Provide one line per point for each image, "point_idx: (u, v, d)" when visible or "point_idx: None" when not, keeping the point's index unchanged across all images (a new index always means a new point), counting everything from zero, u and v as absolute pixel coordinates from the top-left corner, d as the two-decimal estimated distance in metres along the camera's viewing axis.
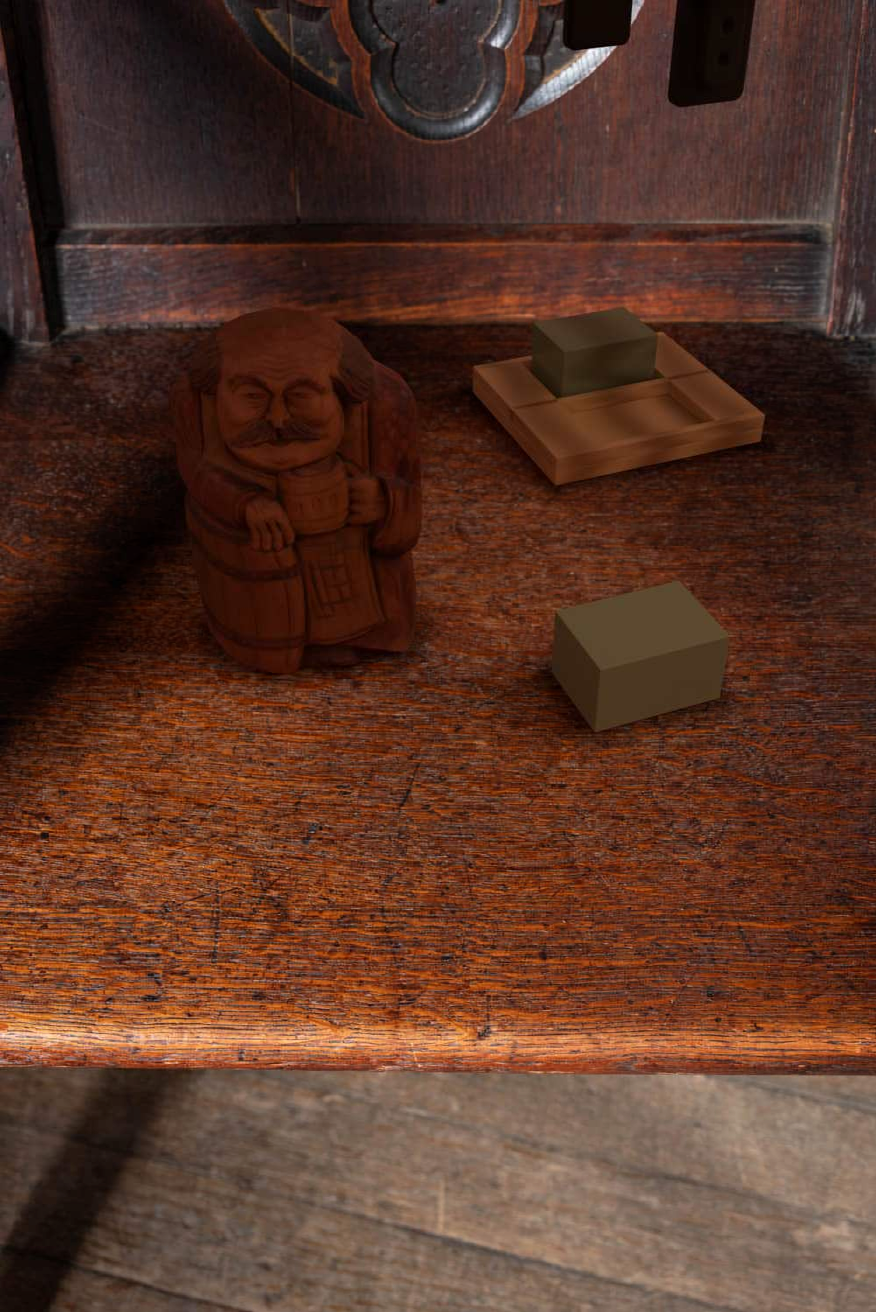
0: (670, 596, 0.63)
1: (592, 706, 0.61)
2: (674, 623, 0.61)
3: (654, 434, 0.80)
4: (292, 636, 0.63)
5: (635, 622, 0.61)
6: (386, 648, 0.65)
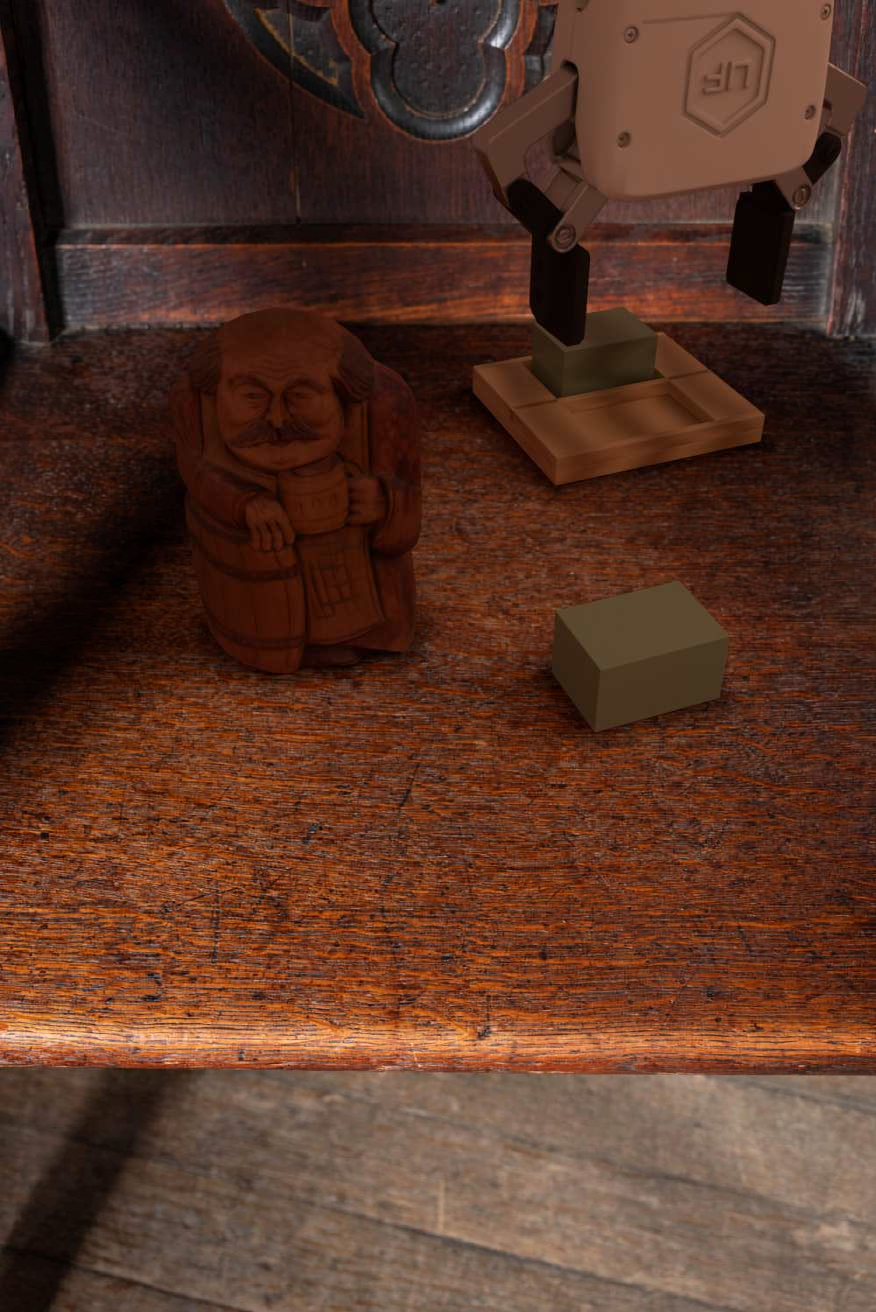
0: (670, 596, 0.63)
1: (592, 706, 0.61)
2: (674, 623, 0.61)
3: (654, 434, 0.80)
4: (292, 636, 0.63)
5: (635, 622, 0.61)
6: (386, 648, 0.65)
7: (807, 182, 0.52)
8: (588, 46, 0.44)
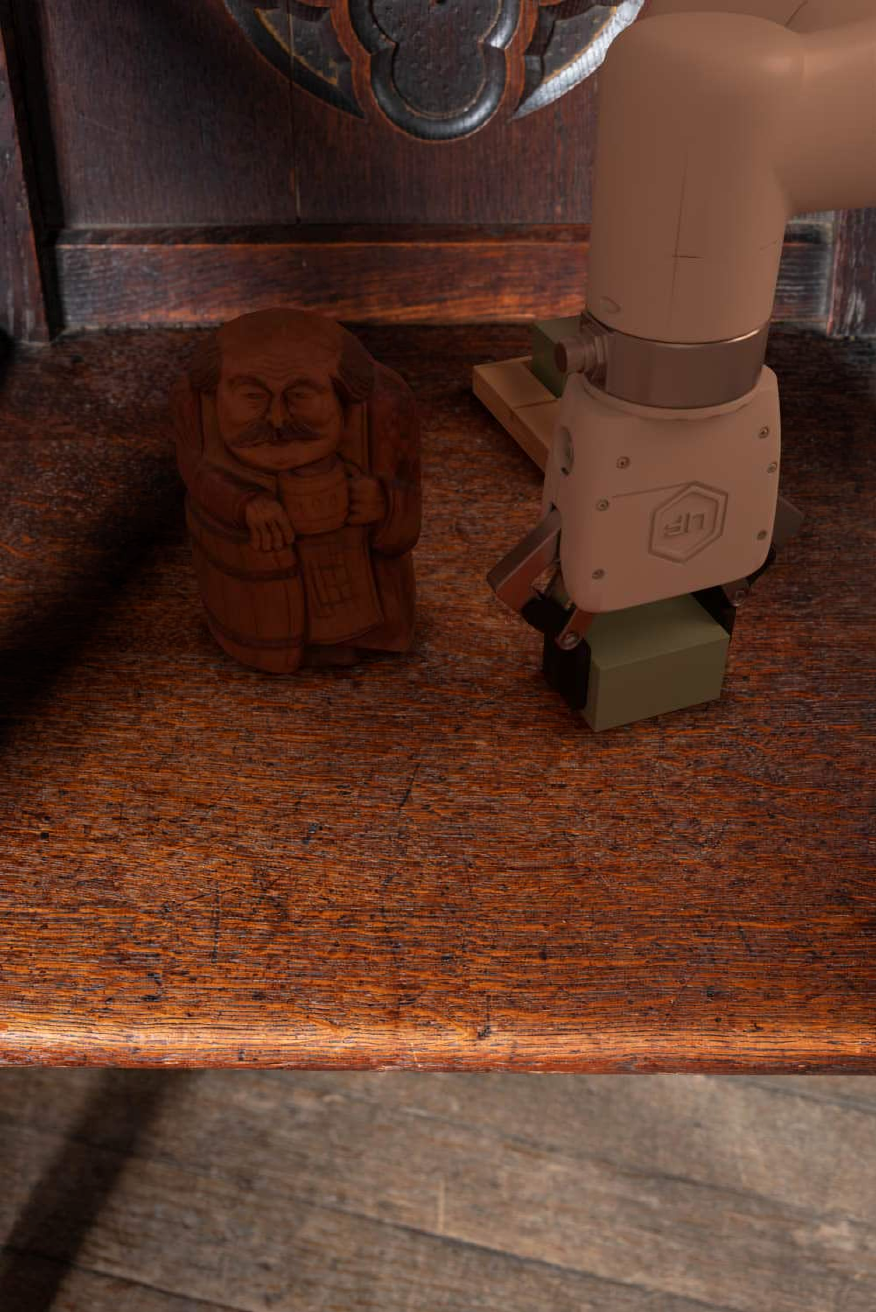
0: None
1: (592, 706, 0.61)
2: (674, 623, 0.61)
3: None
4: (292, 636, 0.63)
5: (635, 623, 0.61)
6: (386, 648, 0.65)
7: (745, 586, 0.61)
8: (569, 504, 0.54)
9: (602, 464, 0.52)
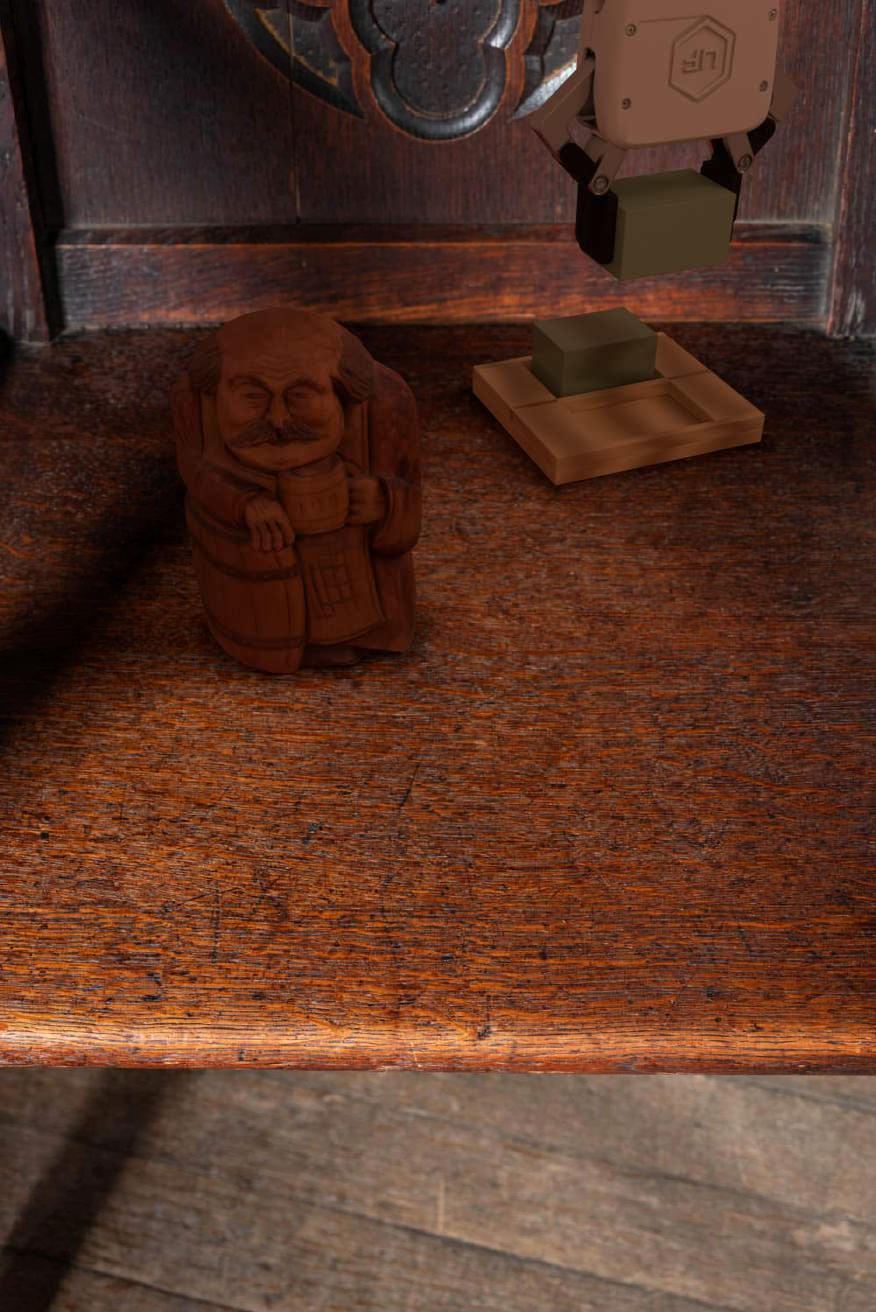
0: (684, 175, 0.73)
1: (618, 255, 0.71)
2: (688, 188, 0.72)
3: (654, 434, 0.80)
4: (292, 636, 0.63)
5: (654, 188, 0.72)
6: (386, 648, 0.65)
7: (749, 153, 0.71)
8: (602, 38, 0.64)
9: None
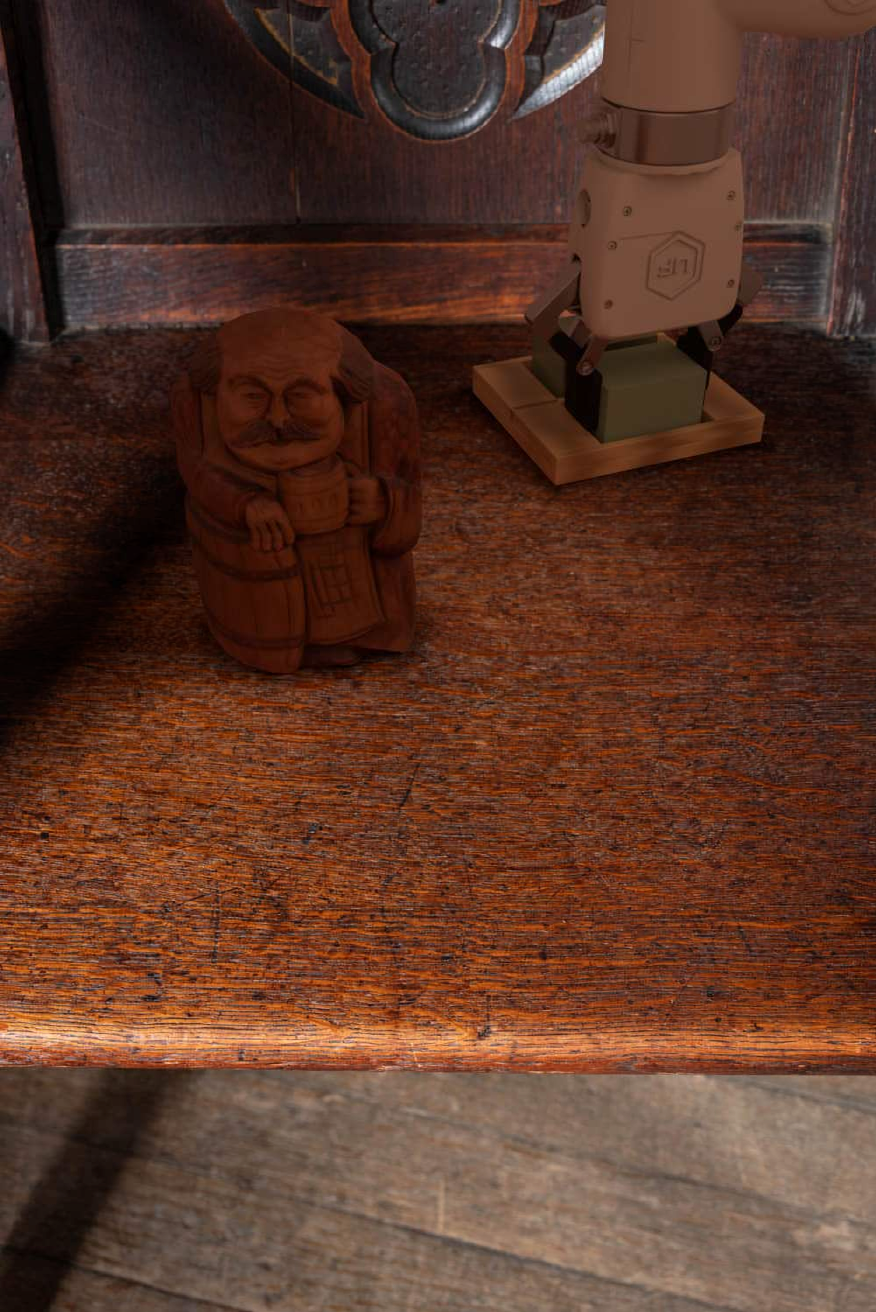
0: (662, 349, 0.82)
1: (602, 425, 0.80)
2: (664, 364, 0.80)
3: (654, 434, 0.80)
4: (292, 636, 0.63)
5: (635, 364, 0.80)
6: (386, 648, 0.65)
7: (718, 334, 0.80)
8: (587, 249, 0.73)
9: (612, 212, 0.71)
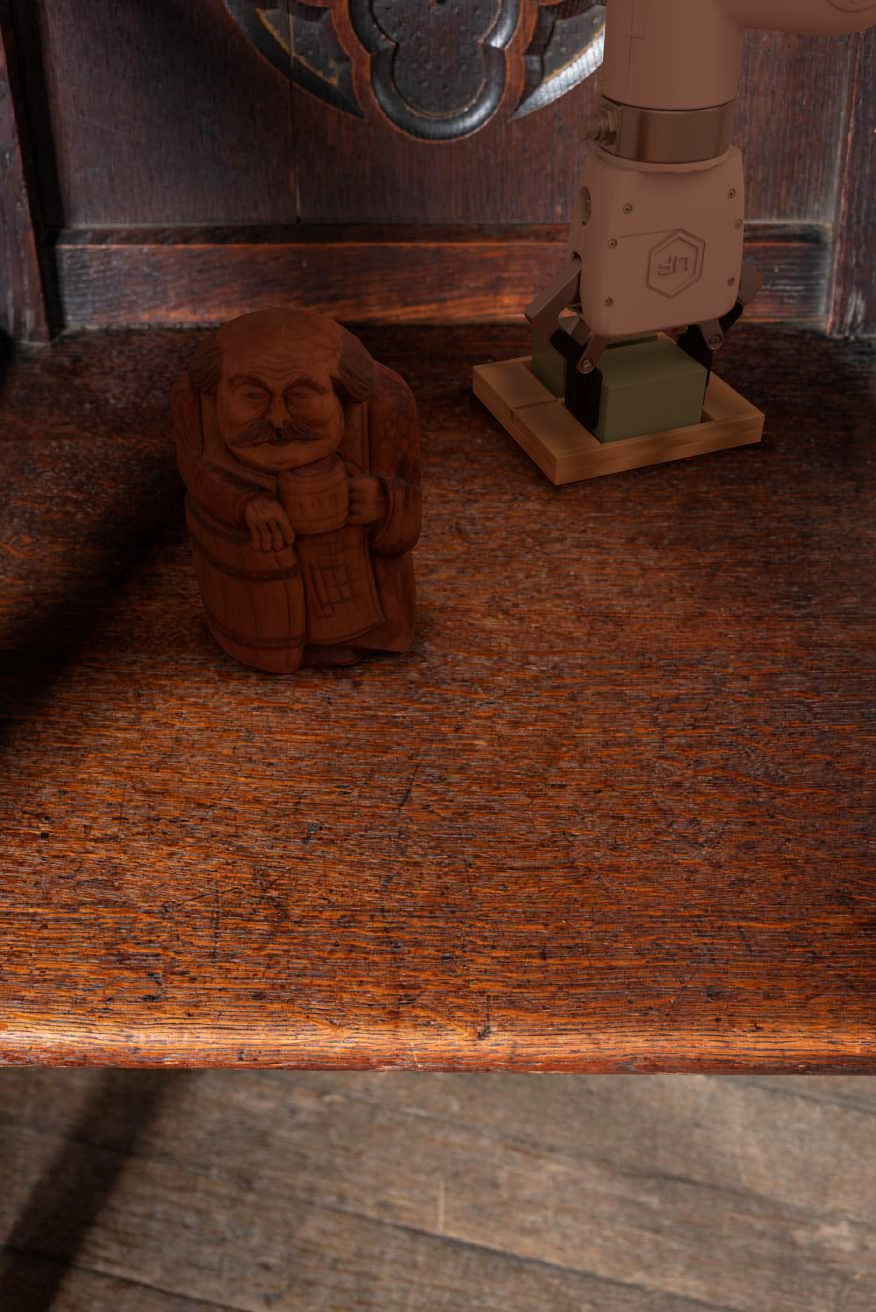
0: (662, 347, 0.82)
1: (602, 423, 0.80)
2: (664, 362, 0.80)
3: (654, 434, 0.80)
4: (292, 636, 0.63)
5: (635, 362, 0.80)
6: (386, 648, 0.65)
7: (719, 332, 0.80)
8: (587, 247, 0.73)
9: (612, 209, 0.71)
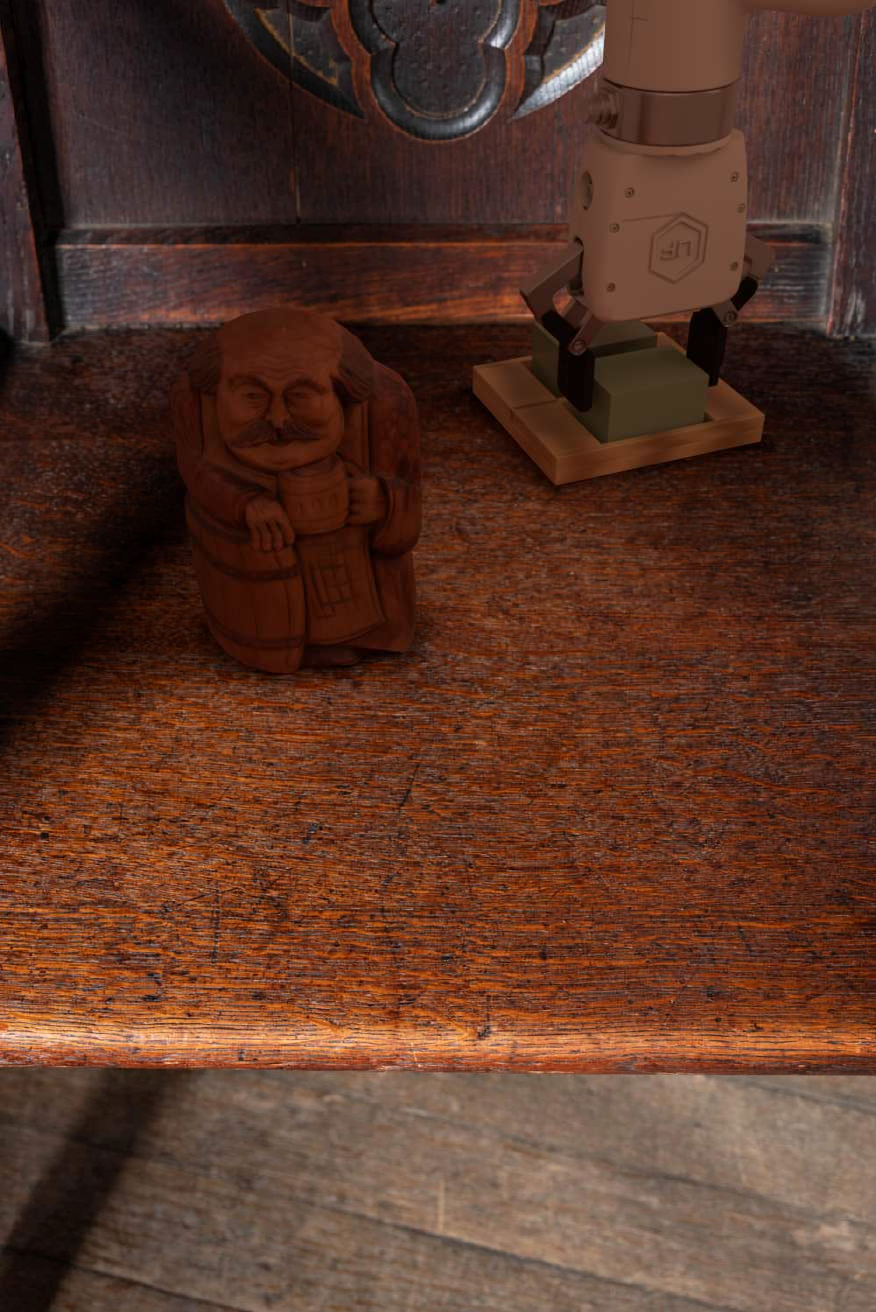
0: (664, 353, 0.82)
1: (605, 429, 0.80)
2: (667, 368, 0.81)
3: (654, 434, 0.80)
4: (292, 636, 0.63)
5: (637, 368, 0.81)
6: (386, 648, 0.65)
7: (733, 309, 0.79)
8: (589, 232, 0.72)
9: (614, 193, 0.70)
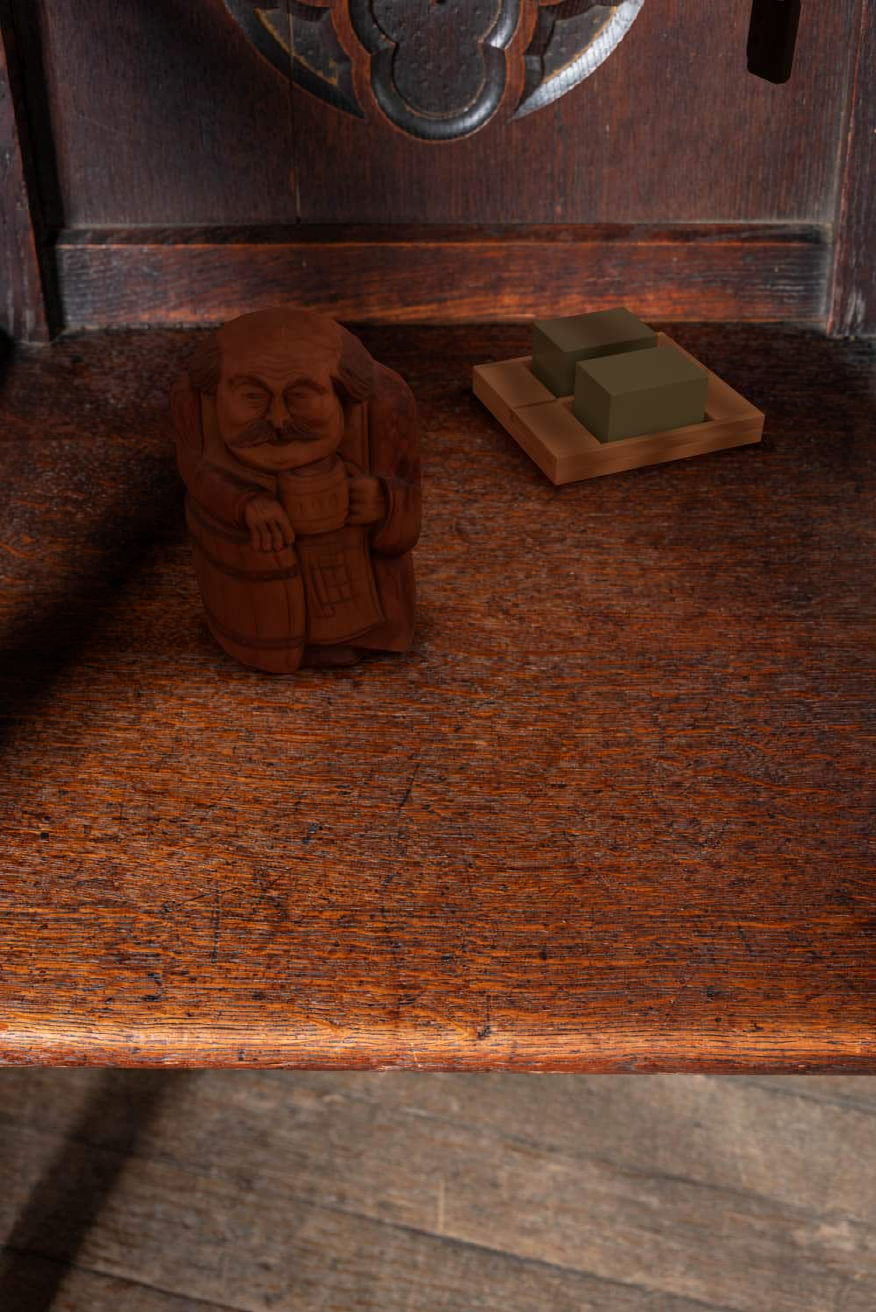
0: (664, 353, 0.82)
1: (605, 429, 0.80)
2: (667, 368, 0.81)
3: (654, 434, 0.80)
4: (292, 636, 0.63)
5: (637, 368, 0.81)
6: (386, 648, 0.65)
7: None
8: None
9: None
